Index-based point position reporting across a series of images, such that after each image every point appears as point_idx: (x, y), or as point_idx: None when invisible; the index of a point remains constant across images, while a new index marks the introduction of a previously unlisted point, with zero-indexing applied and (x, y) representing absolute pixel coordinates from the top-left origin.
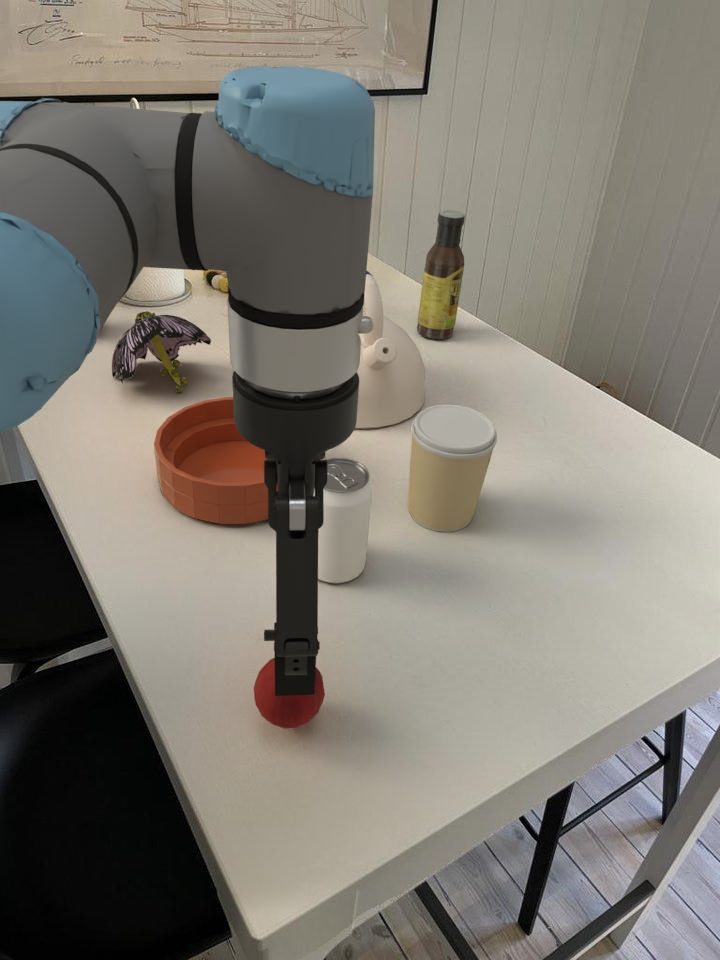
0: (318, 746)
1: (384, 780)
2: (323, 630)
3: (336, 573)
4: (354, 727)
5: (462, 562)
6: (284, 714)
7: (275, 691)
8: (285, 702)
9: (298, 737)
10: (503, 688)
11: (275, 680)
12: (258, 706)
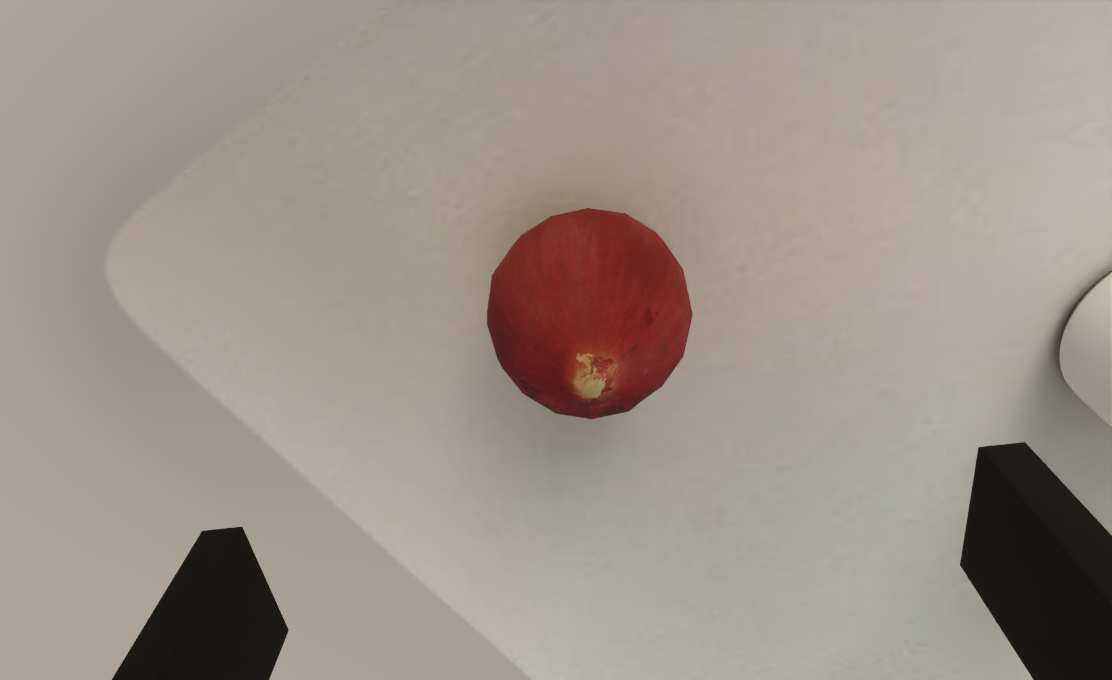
0: None
1: (452, 464)
2: (880, 316)
3: (1084, 361)
4: None
5: None
6: (488, 324)
7: (193, 550)
8: (500, 342)
9: None
10: (693, 650)
11: (162, 603)
12: (525, 238)
